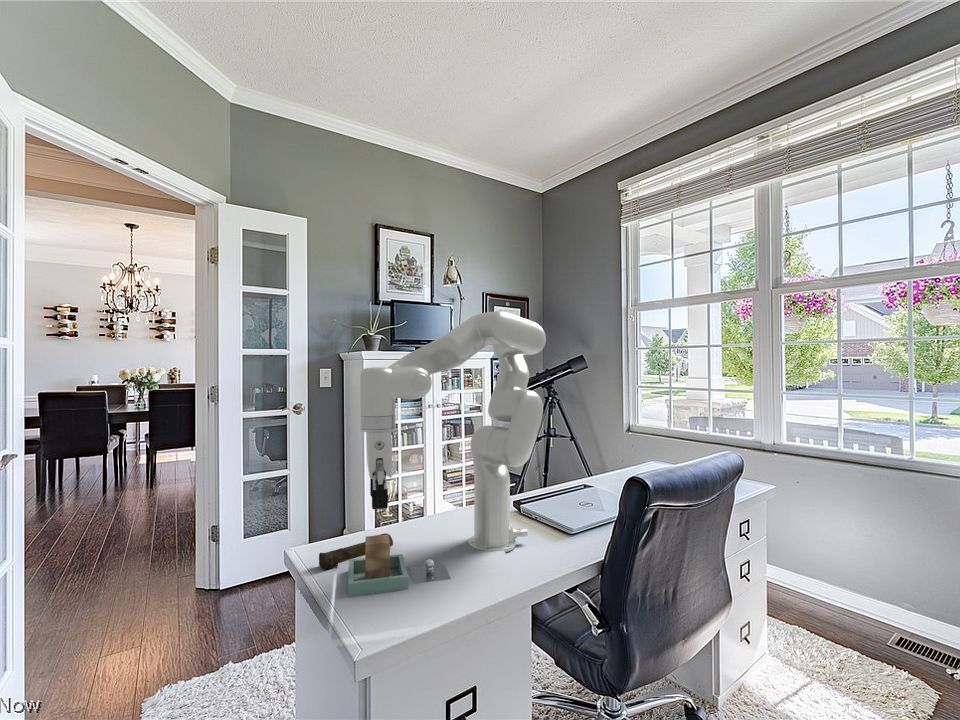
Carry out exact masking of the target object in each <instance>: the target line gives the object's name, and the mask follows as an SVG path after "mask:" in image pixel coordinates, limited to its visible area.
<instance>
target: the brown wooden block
mask: <svg viewBox="0 0 960 720" xmlns="http://www.w3.org/2000/svg"><path fill="white" fill-rule="evenodd" d="M386 534H387V533H386ZM388 534H389V533H388ZM388 534H387V535H381V534H376V535H377V536H375V535H368V536H366V535H365V538H364V539H365V540H364V542H365V555H364V558H365V571H364V573H365V574H364V575H365V576H364V577H365V578H364V580H367V579H375V578H383V577H391V568H390V555H391V546H390V540H389V535H390V534H389V535H388Z"/></svg>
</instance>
